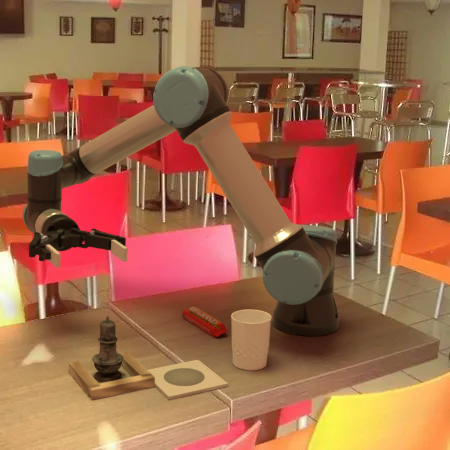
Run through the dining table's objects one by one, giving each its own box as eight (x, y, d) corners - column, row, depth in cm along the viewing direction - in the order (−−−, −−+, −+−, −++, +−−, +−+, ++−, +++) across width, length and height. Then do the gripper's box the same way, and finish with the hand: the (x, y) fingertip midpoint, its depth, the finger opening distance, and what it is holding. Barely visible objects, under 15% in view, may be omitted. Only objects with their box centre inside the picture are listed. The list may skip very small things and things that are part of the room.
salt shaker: (117, 384, 132) (117, 322, 130) (87, 380, 133) (86, 319, 131) (128, 371, 138) (127, 312, 135) (99, 367, 139) (98, 309, 136)
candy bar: (179, 317, 168) (179, 305, 167) (193, 315, 170) (193, 303, 169) (215, 340, 155) (215, 327, 154) (229, 337, 157) (230, 324, 156)
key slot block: (127, 360, 143) (127, 351, 142) (154, 386, 132) (154, 377, 131) (69, 371, 137) (68, 362, 137) (92, 399, 126) (91, 390, 126)
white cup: (257, 375, 138) (259, 326, 135) (222, 365, 142) (223, 317, 139) (276, 361, 144) (278, 314, 142) (242, 352, 148) (244, 306, 146)
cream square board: (197, 362, 143) (197, 359, 143) (227, 386, 133) (227, 382, 132) (141, 373, 137) (141, 370, 137) (168, 399, 127) (168, 396, 127)
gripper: (110, 242, 164) (150, 270, 146) (-1, 251, 151) (28, 282, 133) (112, 210, 162) (152, 234, 144) (-1, 216, 149) (28, 243, 132)
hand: (92, 257), depth 139 cm, fingers open, 13 cm apart
